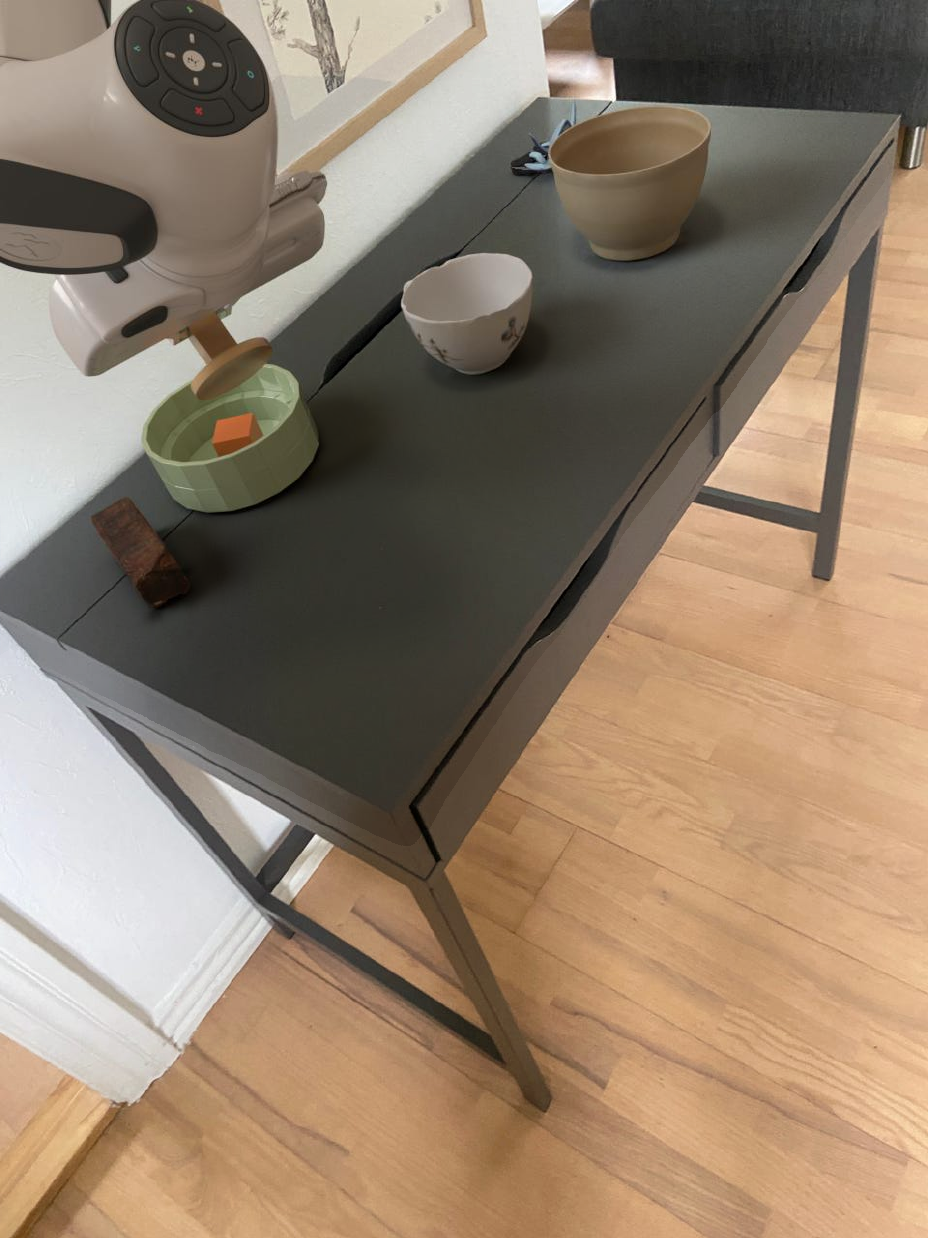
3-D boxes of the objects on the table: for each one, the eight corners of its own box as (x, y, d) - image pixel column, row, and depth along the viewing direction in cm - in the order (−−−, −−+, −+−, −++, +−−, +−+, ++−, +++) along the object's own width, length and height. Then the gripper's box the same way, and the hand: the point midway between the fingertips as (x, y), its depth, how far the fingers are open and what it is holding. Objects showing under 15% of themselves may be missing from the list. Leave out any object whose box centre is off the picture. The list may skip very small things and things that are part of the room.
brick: (112, 554, 83) (86, 516, 79) (151, 531, 84) (127, 492, 80) (154, 616, 76) (126, 578, 72) (195, 590, 77) (171, 551, 73)
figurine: (587, 194, 112) (567, 136, 106) (510, 194, 119) (487, 139, 113) (623, 143, 115) (605, 83, 109) (546, 146, 122) (525, 90, 116)
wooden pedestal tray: (282, 327, 68) (189, 192, 67) (190, 380, 66) (91, 240, 65) (274, 367, 76) (190, 246, 75) (191, 415, 73) (103, 291, 72)
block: (227, 473, 86) (263, 466, 86) (211, 443, 84) (249, 435, 83) (231, 450, 89) (267, 442, 88) (216, 420, 86) (253, 412, 86)
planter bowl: (725, 261, 93) (725, 152, 85) (567, 291, 96) (553, 188, 88) (698, 192, 104) (696, 90, 96) (557, 221, 107) (543, 124, 99)
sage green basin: (140, 502, 87) (109, 452, 83) (230, 406, 95) (206, 356, 91) (263, 528, 80) (236, 476, 76) (348, 423, 88) (329, 370, 84)
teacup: (570, 338, 90) (559, 262, 84) (488, 409, 85) (471, 334, 79) (458, 307, 98) (441, 236, 93) (378, 370, 93) (355, 299, 88)
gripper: (301, 121, 61) (283, 228, 74) (19, 261, 55) (54, 350, 68) (356, 202, 61) (328, 294, 74) (82, 350, 55) (105, 421, 68)
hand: (196, 322), depth 71 cm, fingers closed on wooden pedestal tray, 2 cm apart
